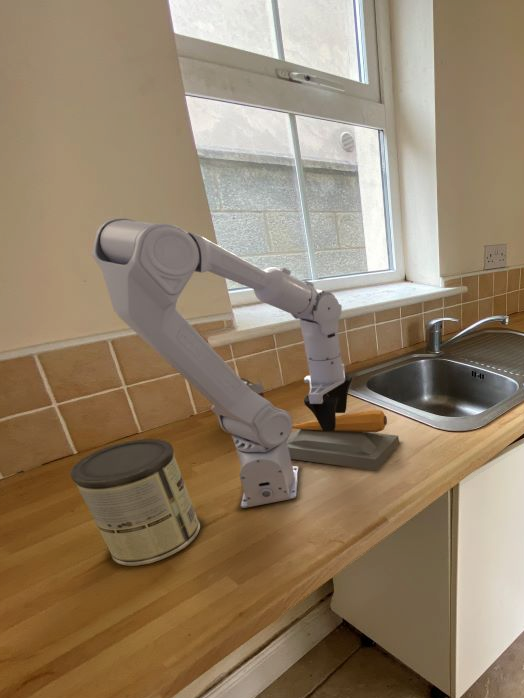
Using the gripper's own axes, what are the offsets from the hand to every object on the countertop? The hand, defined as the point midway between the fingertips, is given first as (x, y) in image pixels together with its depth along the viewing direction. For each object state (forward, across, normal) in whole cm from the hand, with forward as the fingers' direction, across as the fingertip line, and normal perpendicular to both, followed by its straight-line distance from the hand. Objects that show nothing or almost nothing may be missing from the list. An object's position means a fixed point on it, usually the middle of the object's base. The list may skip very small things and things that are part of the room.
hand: (334, 420), depth 87 cm
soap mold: (+6, +2, +1) cm, 6 cm away
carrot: (+2, 0, 0) cm, 2 cm away
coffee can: (+6, +26, -18) cm, 32 cm away
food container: (+6, -10, -23) cm, 26 cm away
